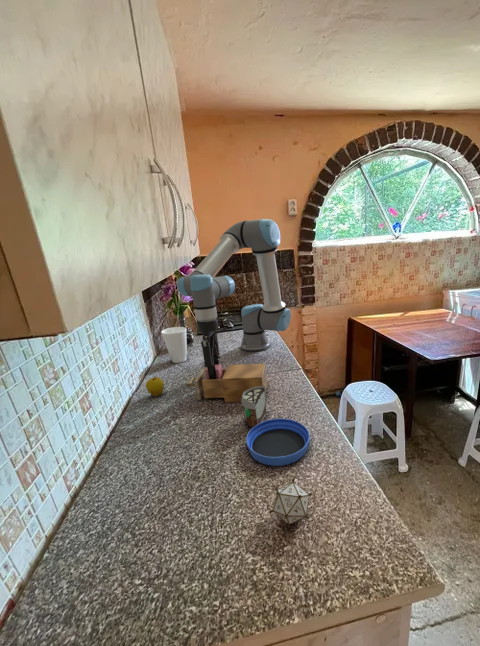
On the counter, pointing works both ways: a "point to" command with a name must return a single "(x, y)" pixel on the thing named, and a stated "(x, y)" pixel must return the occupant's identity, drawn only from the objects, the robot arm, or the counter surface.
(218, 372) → the block
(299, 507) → the game die
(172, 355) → the cup
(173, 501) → the counter surface
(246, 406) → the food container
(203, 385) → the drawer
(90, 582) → the counter surface
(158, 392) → the apple
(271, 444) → the bowl
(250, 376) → the cabinet
